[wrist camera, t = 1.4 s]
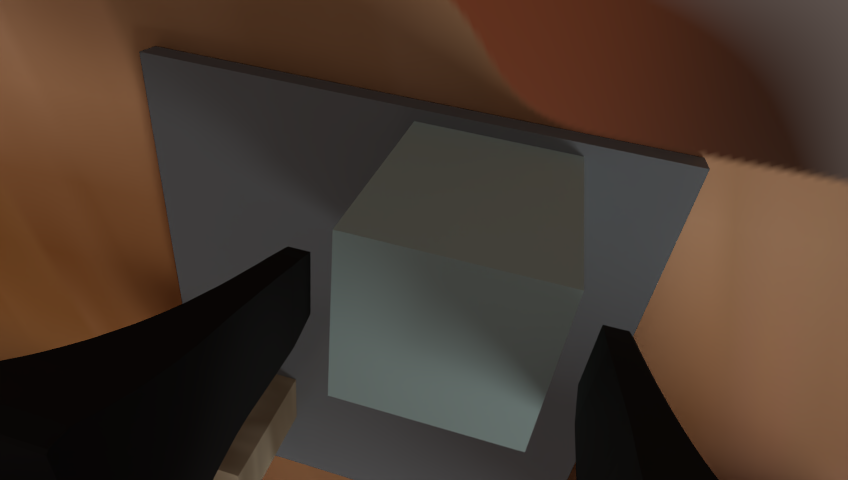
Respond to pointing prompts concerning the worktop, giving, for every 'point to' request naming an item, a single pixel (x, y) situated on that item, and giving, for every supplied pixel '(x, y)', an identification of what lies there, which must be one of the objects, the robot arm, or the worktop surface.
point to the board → (332, 196)
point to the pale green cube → (458, 282)
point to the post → (261, 433)
